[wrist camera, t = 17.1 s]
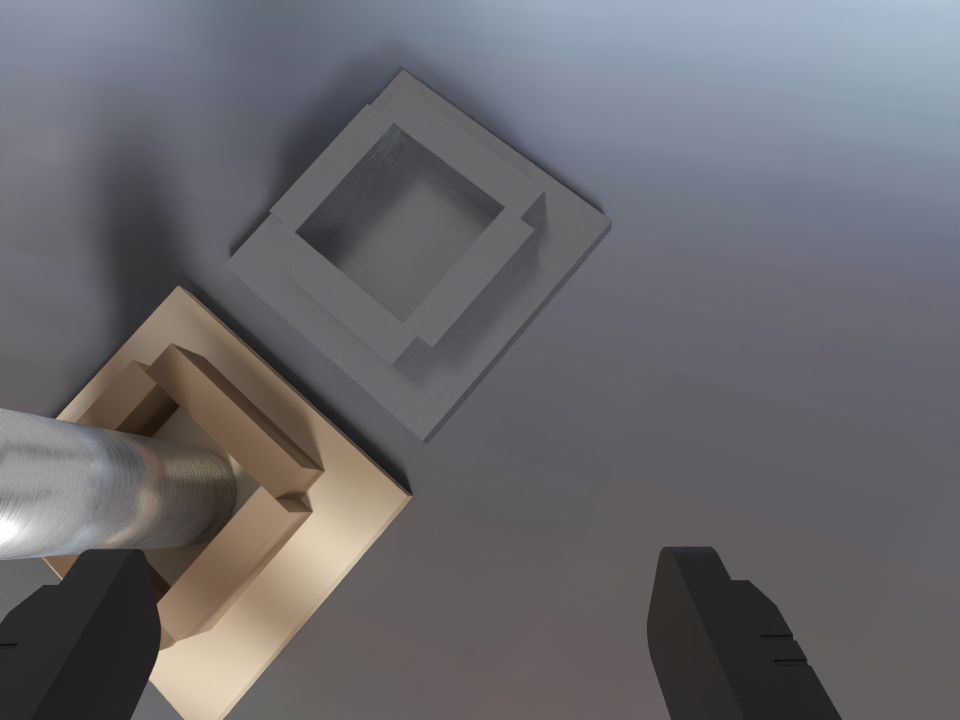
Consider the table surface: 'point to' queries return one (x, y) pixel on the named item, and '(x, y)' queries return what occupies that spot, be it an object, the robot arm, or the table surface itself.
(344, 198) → the socket block
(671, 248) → the table surface
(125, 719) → the robot arm
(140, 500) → the brushed steel cylinder
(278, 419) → the tan square frame base
